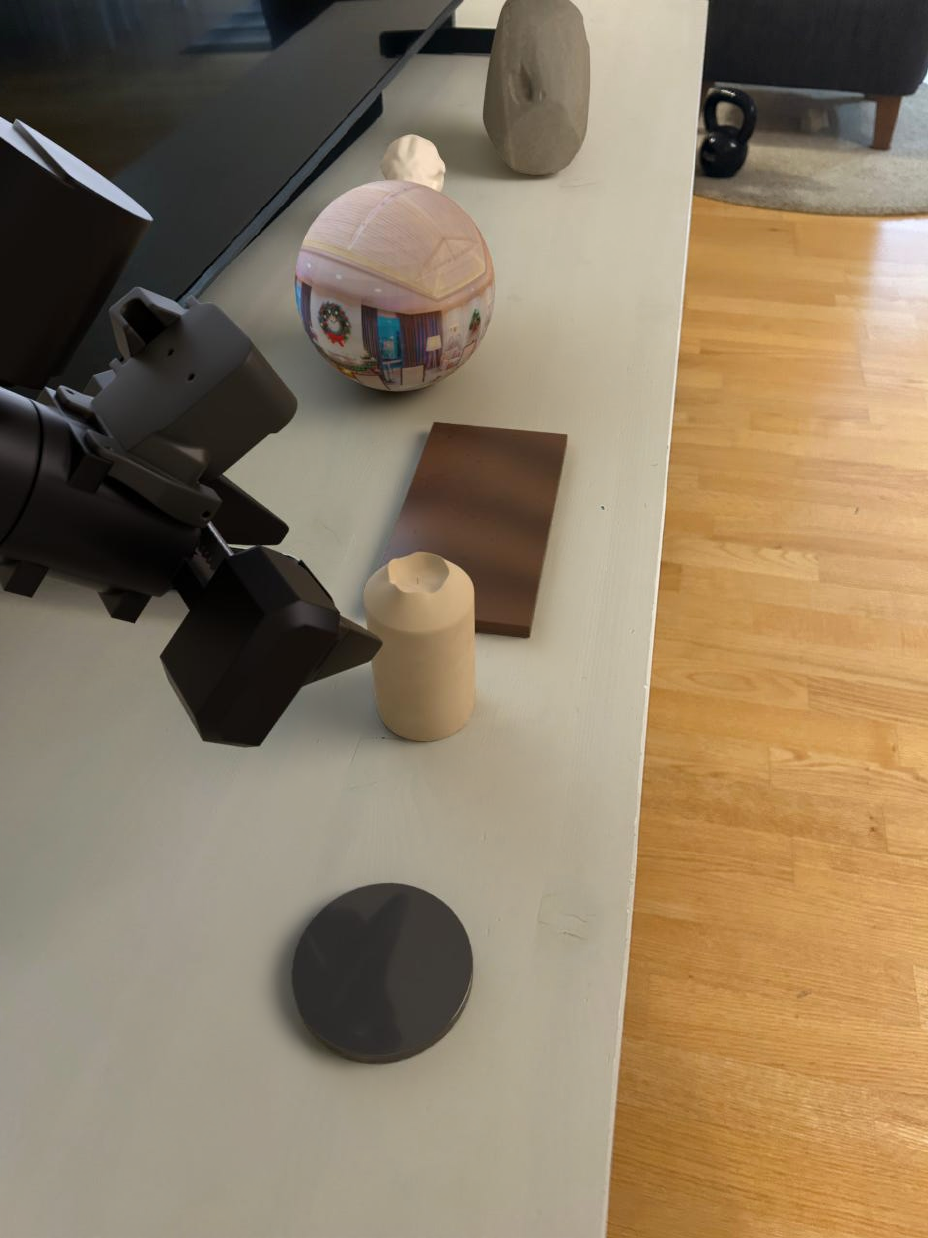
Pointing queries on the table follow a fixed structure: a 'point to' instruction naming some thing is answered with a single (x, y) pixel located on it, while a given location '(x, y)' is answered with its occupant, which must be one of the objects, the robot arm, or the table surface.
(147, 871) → the table surface
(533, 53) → the decorative stone
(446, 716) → the candle
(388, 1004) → the coaster
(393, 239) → the ornament
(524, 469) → the walnut board
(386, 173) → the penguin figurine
